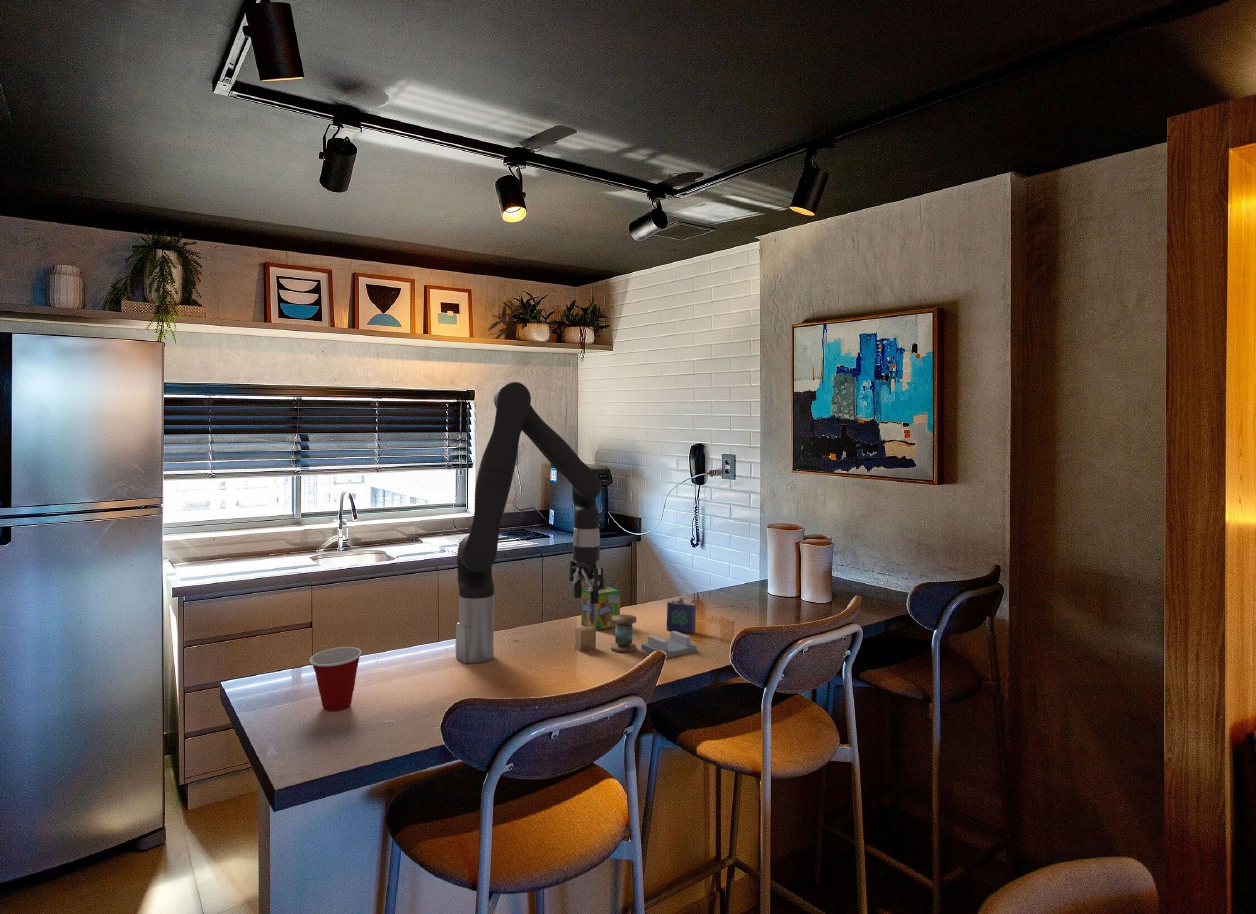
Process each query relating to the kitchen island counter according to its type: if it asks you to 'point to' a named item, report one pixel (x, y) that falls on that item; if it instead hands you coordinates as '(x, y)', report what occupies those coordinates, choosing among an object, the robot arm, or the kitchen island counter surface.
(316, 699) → the kitchen island counter surface
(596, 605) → the chalk box
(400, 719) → the kitchen island counter surface
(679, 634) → the grey ridged tray
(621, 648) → the bobbin
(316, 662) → the plastic cup
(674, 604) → the flask
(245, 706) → the kitchen island counter surface
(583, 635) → the brown wooden block
